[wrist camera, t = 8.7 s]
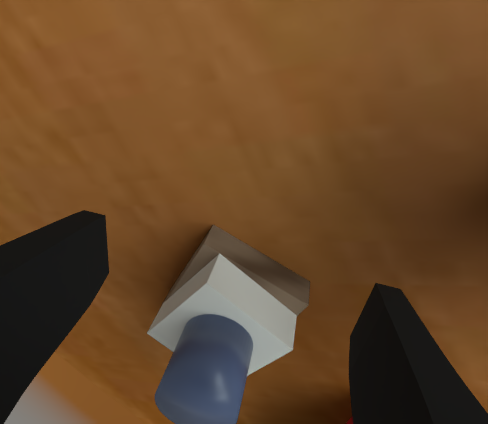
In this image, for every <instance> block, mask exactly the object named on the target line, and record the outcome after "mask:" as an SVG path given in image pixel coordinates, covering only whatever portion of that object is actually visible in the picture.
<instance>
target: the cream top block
mask: <svg viewBox="0 0 488 424" xmlns="http://www.w3.org/2000/svg"><path fill="white" fill-rule="evenodd" d="M203 314H215V315H220V316H224V317H227V318H229V319H232V320H234V321H235V322H237V323H239V324H240V325H241V326H243V327H244V328H245V329H246V330H247V332H248V333H249V334H250V336H251V338H252V341H253V351H252V356H251V360H250V365H249V369H248V374H247V376H248V375H249V374H251V373H253V372H255V371H257V370H258V369H260V368H262V367H264V366H265V365H267V364H269V363H271V362H273V361H274V360H276V359H278V358H280V357H281V356H283V355H285V354H287V353H289V352H290V351H292V350H293V344H294V335H295V326H296V317H297V315H295V314H294V313H293V312H292V311H291V310H289V309H288V308H287V307H286V306H284V305H283V304H282V303H281V302H279V301H278V300H277V299H276V298H274V297H273V296H272V295H271V294H269V293H268V292H267V291H266V290H265V289H263V288H262V287H261V286H260V285H258V284H257V283H256V282H255V281H253V280H252V279H251V278H250V277H248V276H247V275H246V274H245V273H243V272H242V271H241V270H240V269H238V268H237V267H236V266H235V265H233V264H232V263H231V262H230V261H228V260H227V259H226V258H225V257H223V256H222V255H221V254H218V255H217V256H216V257H215V258H214V259H213V260H212V261H210V262H209V263H208V264H207V265H206V266H205V267H204V268H202V269H201V270H200V271H199V272H198V273H197V274H196V275H195V276H193V277H192V278H191V279H190V280H189V281H188V282H187V283H185V284H184V285H183V286H182V287H181V288H180V289H179V290H177V291H176V292H175V293H174V294H173V295H172V296H171V297H169V298H168V299H167V300H166V301H165V302H164V303H163V304H162V306H161V308H160V310H159V312H158V314H157V315H156V317H155V319H154V321H153V323H152V325H151V326H150V328H149V330H148V332H147V334H149V335H150V336H152V337H153V338H154V339H156V340H157V341H159V342H160V343H161V344H163V345H164V346H166V347H167V348H168V349H170V350H171V351H173V352H174V350H175V348H176V345H177V343H178V341H179V338H180V336H181V334H182V332H183V329H184V327H185V325H186V323H187V322H188V321H189V320H190V319H192V318H193V317H196V316H198V315H203Z"/></svg>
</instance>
